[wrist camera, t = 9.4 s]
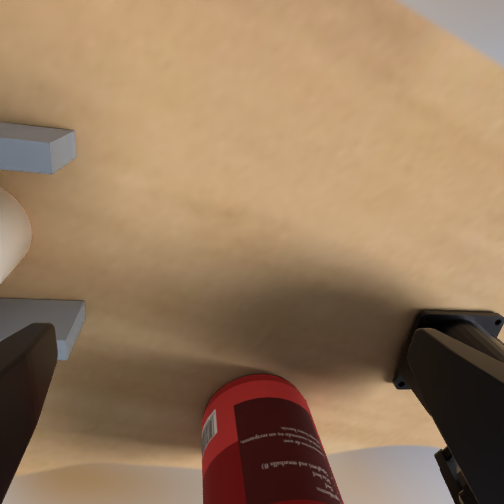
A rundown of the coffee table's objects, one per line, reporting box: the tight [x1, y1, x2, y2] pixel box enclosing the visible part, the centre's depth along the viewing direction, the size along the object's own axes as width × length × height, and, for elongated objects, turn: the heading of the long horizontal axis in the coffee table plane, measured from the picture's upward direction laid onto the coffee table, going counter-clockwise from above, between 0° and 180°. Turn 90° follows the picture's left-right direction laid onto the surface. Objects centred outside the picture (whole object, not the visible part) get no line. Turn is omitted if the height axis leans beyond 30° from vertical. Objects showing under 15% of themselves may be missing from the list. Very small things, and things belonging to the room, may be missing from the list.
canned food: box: [201, 374, 344, 504], centre depth 22 cm, size 8×8×11 cm
